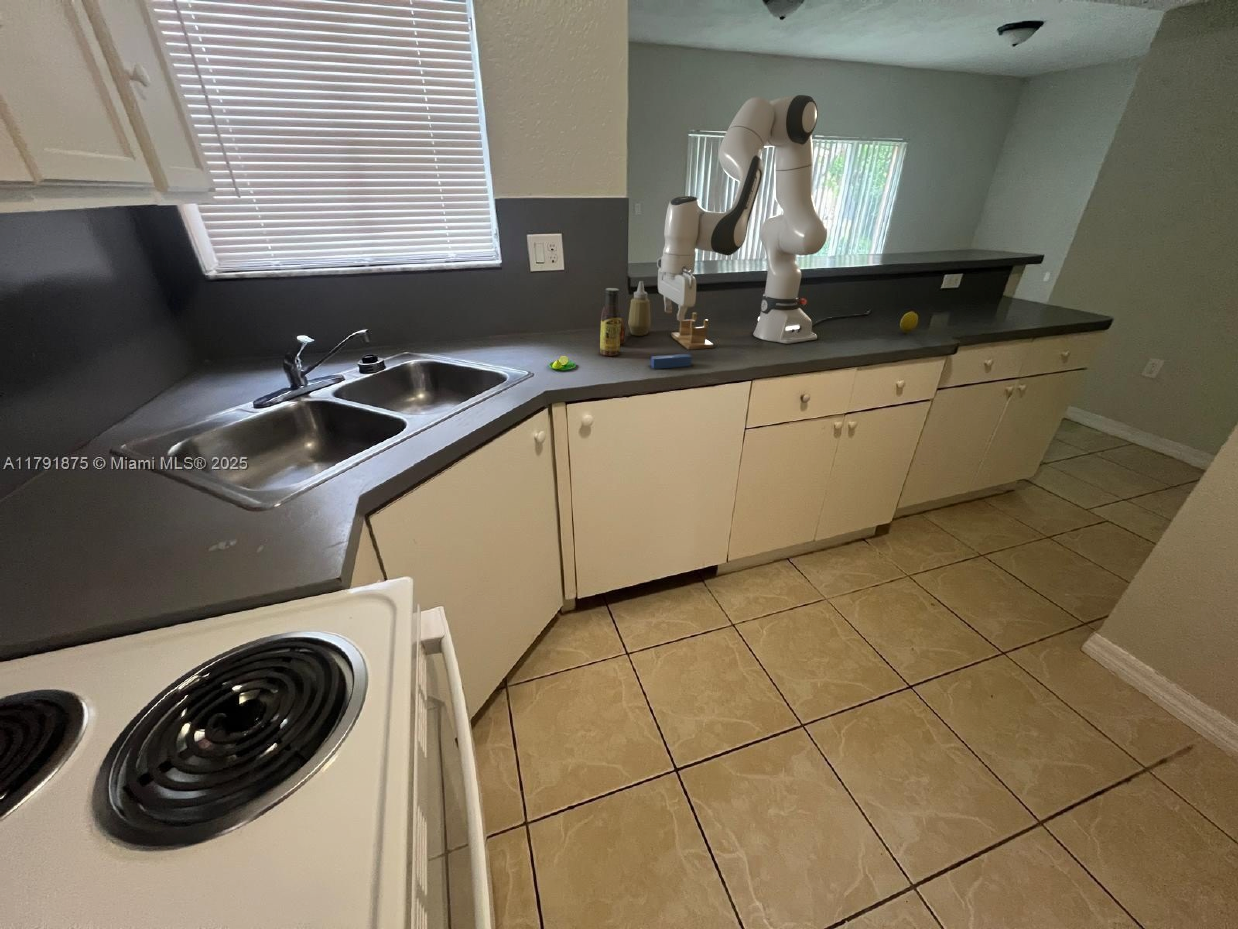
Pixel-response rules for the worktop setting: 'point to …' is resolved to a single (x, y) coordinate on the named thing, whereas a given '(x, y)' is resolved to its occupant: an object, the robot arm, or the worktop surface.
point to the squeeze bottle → (639, 312)
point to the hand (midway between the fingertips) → (673, 316)
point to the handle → (671, 361)
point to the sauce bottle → (610, 324)
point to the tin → (622, 332)
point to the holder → (692, 334)
